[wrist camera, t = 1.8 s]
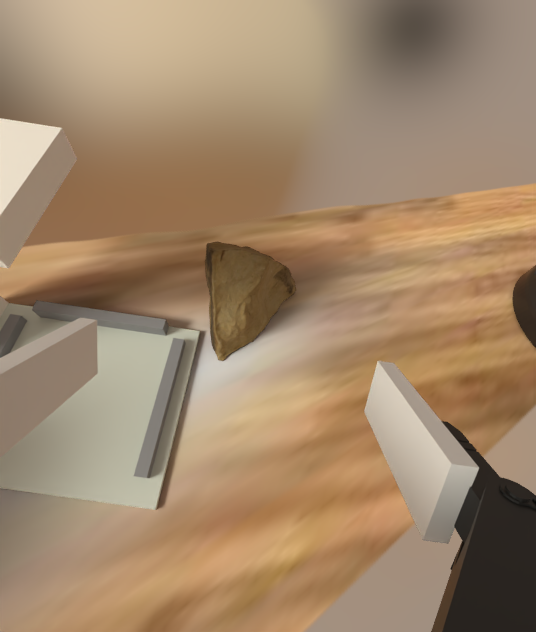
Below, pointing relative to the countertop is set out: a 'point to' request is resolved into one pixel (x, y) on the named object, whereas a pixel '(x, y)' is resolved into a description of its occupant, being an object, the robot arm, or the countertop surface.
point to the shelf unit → (112, 356)
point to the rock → (242, 294)
